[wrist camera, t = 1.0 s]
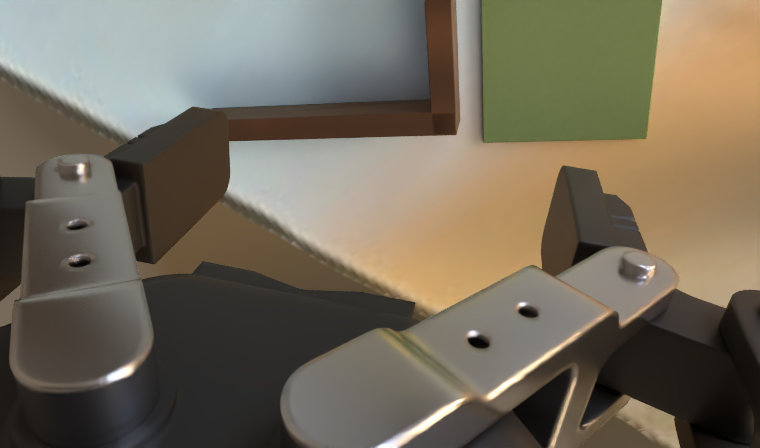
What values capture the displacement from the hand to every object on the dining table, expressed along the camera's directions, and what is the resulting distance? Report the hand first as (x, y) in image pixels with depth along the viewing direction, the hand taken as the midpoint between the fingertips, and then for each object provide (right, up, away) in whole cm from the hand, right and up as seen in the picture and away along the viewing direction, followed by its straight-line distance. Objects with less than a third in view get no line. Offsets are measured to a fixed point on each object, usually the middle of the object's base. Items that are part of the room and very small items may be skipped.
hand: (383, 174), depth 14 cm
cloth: (+11, +11, +20) cm, 26 cm away
